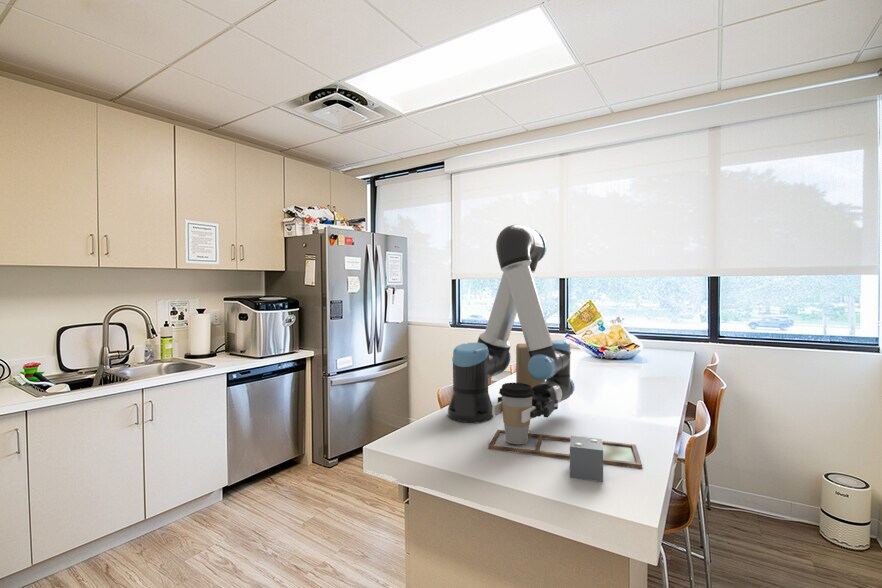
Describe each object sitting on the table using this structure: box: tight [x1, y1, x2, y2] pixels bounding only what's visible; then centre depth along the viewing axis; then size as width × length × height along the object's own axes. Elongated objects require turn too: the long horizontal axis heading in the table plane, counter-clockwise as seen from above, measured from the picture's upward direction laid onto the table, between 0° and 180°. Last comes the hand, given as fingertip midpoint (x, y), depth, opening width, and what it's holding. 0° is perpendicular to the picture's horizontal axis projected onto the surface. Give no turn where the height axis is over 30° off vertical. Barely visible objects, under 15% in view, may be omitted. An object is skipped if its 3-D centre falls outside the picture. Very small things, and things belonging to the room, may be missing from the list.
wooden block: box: [515, 343, 546, 389], centre depth 159 cm, size 10×10×20 cm
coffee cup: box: [498, 382, 534, 445], centre depth 114 cm, size 9×9×15 cm
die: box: [569, 435, 604, 483], centre depth 95 cm, size 7×7×7 cm
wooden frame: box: [487, 429, 643, 469], centre depth 110 cm, size 37×13×1 cm, turn 71°
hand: (507, 413), depth 110 cm, fingers closed on coffee cup, 8 cm apart
